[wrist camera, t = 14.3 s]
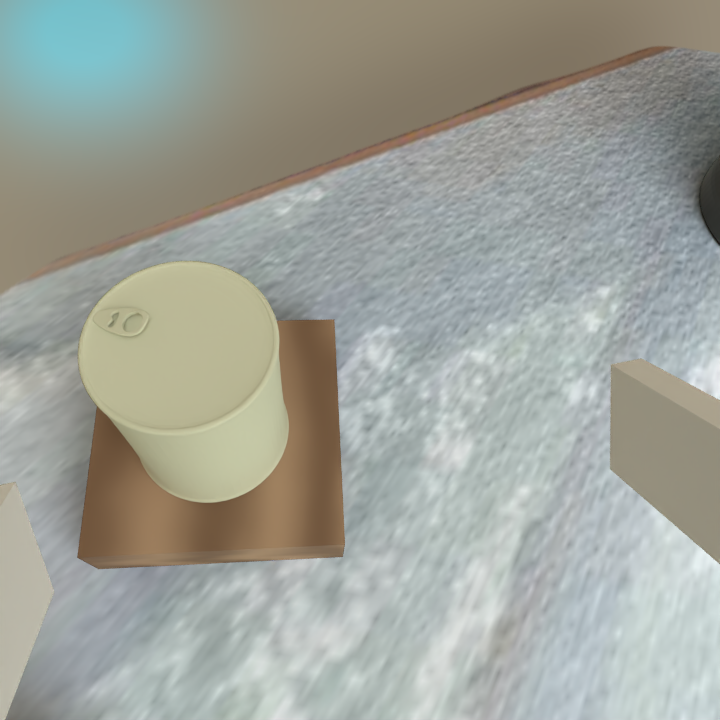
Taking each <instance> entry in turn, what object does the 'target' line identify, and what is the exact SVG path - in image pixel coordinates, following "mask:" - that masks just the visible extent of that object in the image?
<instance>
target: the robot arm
mask: <svg viewBox="0 0 720 720" xmlns="http://www.w3.org/2000/svg"><path fill="white" fill-rule="evenodd" d="M700 204H701V209H702V213H703V216H704V218H705V221H706V223H707V225H708V227H709V229H710V230H711V232H712V234H713V235H714V236H715V238H716V239H717V240H718V242H719V243H720V156H719V157H718V159H717V160H716V161H715V162H714V164H713V165H712V166H711V168H710V169H709V170H708V172H707V173H706V175H705V177H704V179H703V181H702V185H701V190H700ZM610 469H611V470H612V471H613V472H614V473H615V474H616V475H618V476H619V477H620V478H621V479H622V480H623V481H625V482H626V483H627V484H628V485H629V486H630V487H631V488H633V489H634V490H635V491H636V492H637V493H638V494H640V495H641V496H642V497H643V498H644V499H645V500H646V501H648V502H649V503H650V504H651V505H652V506H653V507H655V508H656V509H657V510H658V511H659V512H660V513H661V514H663V515H664V516H665V517H666V518H667V519H668V520H670V521H671V522H672V523H673V524H674V525H675V526H676V527H678V528H679V529H680V530H681V531H682V532H683V533H685V534H686V535H687V536H688V537H689V538H690V539H692V540H693V541H694V542H695V543H696V544H697V545H698V546H700V547H701V548H702V549H703V550H704V551H705V552H707V553H708V554H709V555H710V556H711V557H712V558H713V559H715V560H716V561H717V562H718V563H719V564H720V400H718V399H716V398H714V397H712V396H711V395H709V394H707V393H705V392H703V391H701V390H699V389H697V388H696V387H694V386H692V385H690V384H688V383H686V382H684V381H682V380H681V379H679V378H677V377H675V376H673V375H671V374H669V373H667V372H666V371H664V370H662V369H660V368H658V367H656V366H654V365H652V364H651V363H649V362H647V361H645V360H643V359H637V360H632V361H627V362H622V363H617V364H611V429H610ZM53 594H54V589H53V587H52V584H51V581H50V578H49V575H48V572H47V570H46V567H45V564H44V561H43V558H42V555H41V553H40V550H39V547H38V544H37V541H36V538H35V536H34V533H33V530H32V527H31V524H30V521H29V519H28V516H27V513H26V510H25V507H24V504H23V502H22V499H21V496H20V493H19V490H18V487H17V485H16V482H13V483H8V484H3V485H0V720H5V719H6V717H7V714H8V711H9V709H10V706H11V703H12V701H13V698H14V696H15V693H16V690H17V688H18V685H19V683H20V680H21V677H22V675H23V672H24V670H25V667H26V664H27V662H28V659H29V657H30V654H31V651H32V649H33V646H34V643H35V641H36V638H37V636H38V633H39V630H40V628H41V625H42V623H43V620H44V617H45V615H46V612H47V610H48V607H49V604H50V602H51V599H52V597H53Z"/></svg>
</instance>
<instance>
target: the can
mask: <svg viewBox="0 0 720 720" xmlns="http://www.w3.org/2000/svg"><path fill="white" fill-rule="evenodd" d="M78 365H79V371H80V375H81V379H82V382H83V384H84V386H85V389H86V391H87V393H88V394H89V396H90V397H91V399H92V400H93V402H94V403H95V404H96V405H97V406H98V407H99V409H100V410H101V411H103V412H104V413H105V414H106V415H107V416H108V417H109V418H110V419H111V421H112V422H113V423H114V425H115V426H116V427H117V428H118V430H119V431H120V432H121V433H122V435H123V436H124V437H125V439H126V440H127V441H128V443H129V444H130V445H131V447H132V448H133V449H134V451H135V452H136V453H137V455H138V456H139V457H140V460H141V463H142V465H143V467H144V468H145V470H146V472H147V473H148V475H149V476H150V477H151V478H152V479H153V481H154V482H155V483H156V484H157V485H159V486H160V487H161V488H162V489H164V490H165V491H167V492H168V493H170V494H172V495H174V496H176V497H179V498H181V499H184V500H188V501H193V502H201V503H214V502H221V501H226V500H230V499H233V498H236V497H239V496H241V495H243V494H245V493H247V492H249V491H251V490H252V489H254V488H255V487H257V486H258V485H259V484H261V483H262V482H263V481H264V480H265V479H266V478H267V477H268V476H269V475H270V474H271V473H272V471H273V470H274V469H275V467H276V466H277V464H278V463H279V461H280V459H281V457H282V455H283V453H284V450H285V447H286V444H287V440H288V432H289V421H288V414H287V410H286V406H285V404H284V401H283V393H282V384H281V373H280V362H279V330H278V324H277V321H276V318H275V315H274V312H273V310H272V308H271V306H270V304H269V303H268V301H267V300H266V298H265V297H264V295H263V294H262V293H261V292H260V291H259V290H258V288H257V287H256V286H254V285H253V284H252V283H251V282H250V281H248V280H247V279H246V278H244V277H243V276H241V275H240V274H238V273H236V272H234V271H232V270H230V269H227V268H225V267H222V266H219V265H215V264H211V263H206V262H199V261H176V262H168V263H163V264H158V265H155V266H151V267H149V268H146V269H143V270H141V271H138V272H136V273H134V274H132V275H130V276H128V277H127V278H125V279H123V280H122V281H120V282H119V283H118V284H116V285H115V286H114V287H113V288H111V289H110V290H109V291H108V292H107V293H106V294H105V295H104V296H103V297H102V298H101V299H100V300H99V302H98V303H97V304H96V305H95V307H94V308H93V309H92V311H91V312H90V314H89V316H88V318H87V320H86V322H85V324H84V327H83V329H82V332H81V336H80V340H79V346H78Z"/></svg>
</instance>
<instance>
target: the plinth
mask: <svg viewBox="0 0 720 720" xmlns="http://www.w3.org/2000/svg"><path fill="white" fill-rule="evenodd" d="M277 324H278V330H279V362H280V373H281V384H282V393H283V401H284V404H285V406H286V410H287V414H288V421H289V432H288V440H287V444H286V447H285V450H284V453H283V455H282V457H281V459H280V461H279V463H278V464H277V466H276V467H275V469H274V470H273V471H272V473H271V474H270V475H269V476H268V477H267V478H266V479H265V480H264V481H263V482H262V483H261V484H259V485H258V486H257V487H255V488H254V489H252V490H251V491H249V492H247V493H245V494H243V495H241V496H239V497H236V498H233V499H230V500H226V501H221V502H214V503H201V502H193V501H188V500H184V499H181V498H179V497H176V496H174V495H172V494H170V493H168V492H167V491H165V490H164V489H162V488H161V487H160V486H159V485H157V484H156V483H155V482H154V481H153V479H152V478H151V477H150V476H149V475H148V473H147V472H146V470H145V468H144V467H143V465H142V463H141V460H140V457H139V456H138V455H137V453H136V452H135V451H134V449H133V448H132V447H131V445H130V444H129V443H128V441H127V440H126V439H125V437H124V436H123V435H122V433H121V432H120V431H119V430H118V428H117V427H116V426H115V425H114V423H113V422H112V421H111V419H110V418H109V417H108V416H107V415H106V414H105V413H104V412H103V411H101V410H100V409H99V407H98V406H97V410H96V418H95V426H94V434H93V441H92V449H91V457H90V464H89V472H88V480H87V487H86V495H85V503H84V510H83V518H82V526H81V533H80V541H79V549H78V556H77V558H79V559H81V560H83V561H85V562H87V563H88V564H90V565H92V566H94V567H96V568H98V569H109V568H129V567H149V566H169V565H189V564H209V563H229V562H249V561H269V560H289V559H309V558H329V557H343V552H344V547H345V536H344V515H343V494H342V472H341V451H340V430H339V409H338V388H337V367H336V346H335V325H334V320H291V321H277Z"/></svg>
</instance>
